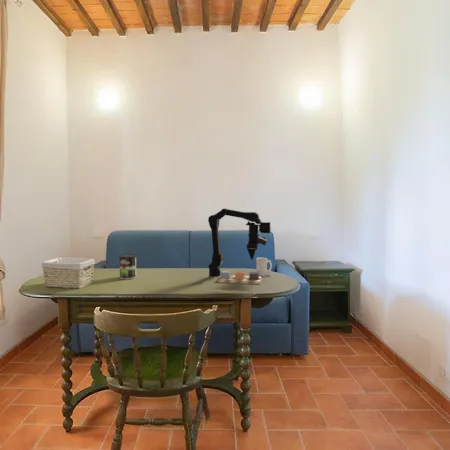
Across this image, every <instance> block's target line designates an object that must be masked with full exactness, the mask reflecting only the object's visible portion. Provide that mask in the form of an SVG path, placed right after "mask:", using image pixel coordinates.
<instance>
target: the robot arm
mask: <svg viewBox="0 0 450 450" xmlns="http://www.w3.org/2000/svg"><path fill="white" fill-rule="evenodd" d="M225 216H228V217H234V218H240V219H244V220H246V221H247V223H245V225H246V226H248V240H247V244H246V250H247V253H248V254H249V255H248V256H249V257H250V260H253V259H254V257H255V254H256V251H257V250H258V247H259V245H260V244H261V245H263V246H264V247H265V246H266V245H267V243H268V240H267V239H266V237H265V236H262V237H260V235H259V233H260V234H271V228H272V227H271V222H269V221H267V222H265V221H264V222H263V221H262V220H261V218H260V215H259V213H258V212H252V211H247V212H246V211H239V210H235V209H229V208H222V209H221V210H219V211H218V212H217V213H215V214H212V215H210V216H208V220H207V221H208V225H209V227H210V231H211V242H212V256H211V257H212V258H211V262H210V264H208V275H209V277H220V275H221V272H222V270H221V267H220V266H221V265H222V264H223V262H224V260H225V258H224V253H222V252H221V247H220V245H221V244H220V236H219V235H220V234H219V227H220V220H221V219H222V218H224V217H225Z"/></svg>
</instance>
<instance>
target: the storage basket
mask: <svg viewBox="0 0 450 450" xmlns="http://www.w3.org/2000/svg"><path fill="white" fill-rule="evenodd" d="M95 262H96V261H95V259H94V258H85V257H82V258H80V257H55V258H52V259H48V260H45V261H42V262H41V268H42V272H43V280H44V286H45V287H46V288H47V287H49V288H64V289H71V288H72V289H82V288H84V287H86V286H89V285H91V284H92V283H93V282H94V272H95V270H94V268H95V267H94V265H95Z"/></svg>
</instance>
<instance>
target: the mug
mask: <svg viewBox="0 0 450 450" xmlns="http://www.w3.org/2000/svg"><path fill="white" fill-rule="evenodd" d="M255 261H256V272H259V276H261V277H265V276H267V274H268V273H271V271H272V268H273V263H272V261H271V259H268V258H267V257H262V256H261V257H256V260H255ZM268 263H269V265H270V267H269V269H268Z"/></svg>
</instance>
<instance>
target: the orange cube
mask: <svg viewBox="0 0 450 450" xmlns="http://www.w3.org/2000/svg"><path fill="white" fill-rule="evenodd" d="M234 275H235V279H244V276H245V271H243V270H242V271H241V270H240V271H239V270H236V271H235V272H234Z"/></svg>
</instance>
